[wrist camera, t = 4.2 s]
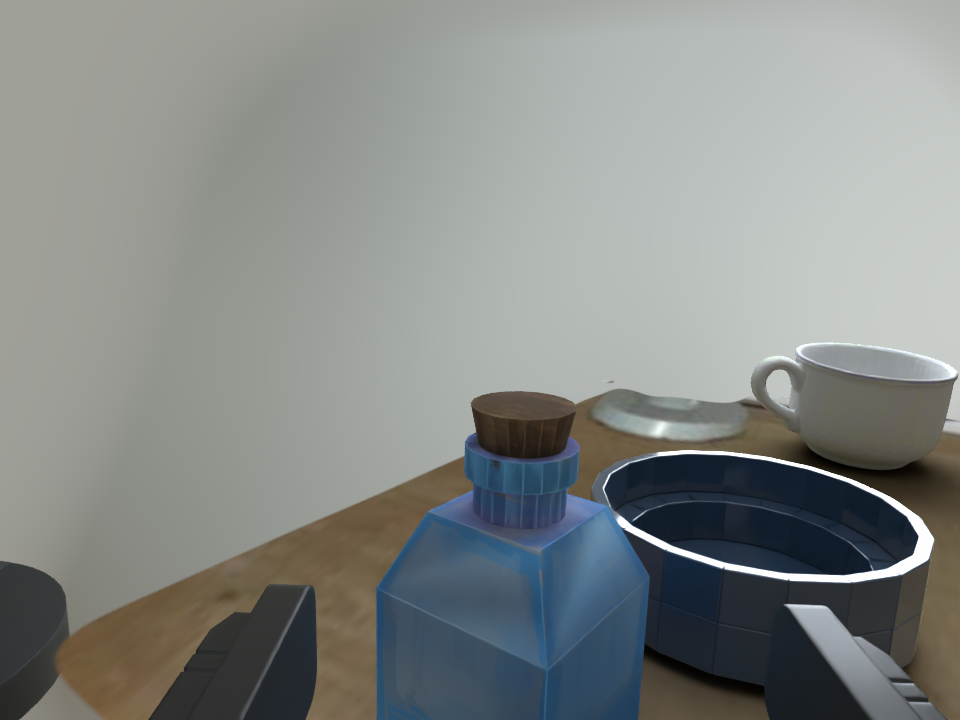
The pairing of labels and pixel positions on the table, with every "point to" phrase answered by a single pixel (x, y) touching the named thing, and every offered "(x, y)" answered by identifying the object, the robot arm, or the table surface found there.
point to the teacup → (861, 402)
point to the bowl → (764, 554)
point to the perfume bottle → (514, 587)
